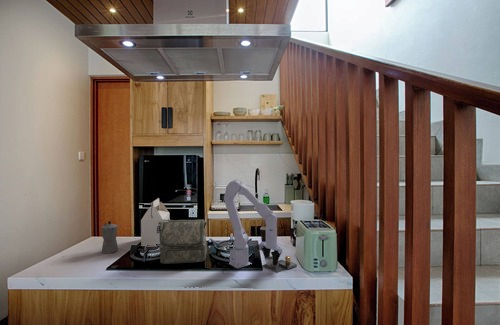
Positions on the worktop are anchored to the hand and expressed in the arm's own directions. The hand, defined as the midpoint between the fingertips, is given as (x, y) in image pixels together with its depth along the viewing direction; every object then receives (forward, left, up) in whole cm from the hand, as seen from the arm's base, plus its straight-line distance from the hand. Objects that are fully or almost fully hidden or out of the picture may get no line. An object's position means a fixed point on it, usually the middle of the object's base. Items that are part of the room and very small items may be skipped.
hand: (271, 263), depth 145 cm
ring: (0, 0, -1) cm, 1 cm away
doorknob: (+6, -6, -1) cm, 9 cm away
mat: (+2, -3, -1) cm, 5 cm away
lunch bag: (-32, +37, -2) cm, 49 cm away
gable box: (-34, +75, -2) cm, 82 cm away
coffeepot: (-62, +75, -2) cm, 97 cm away
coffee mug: (+23, +29, -2) cm, 37 cm away
